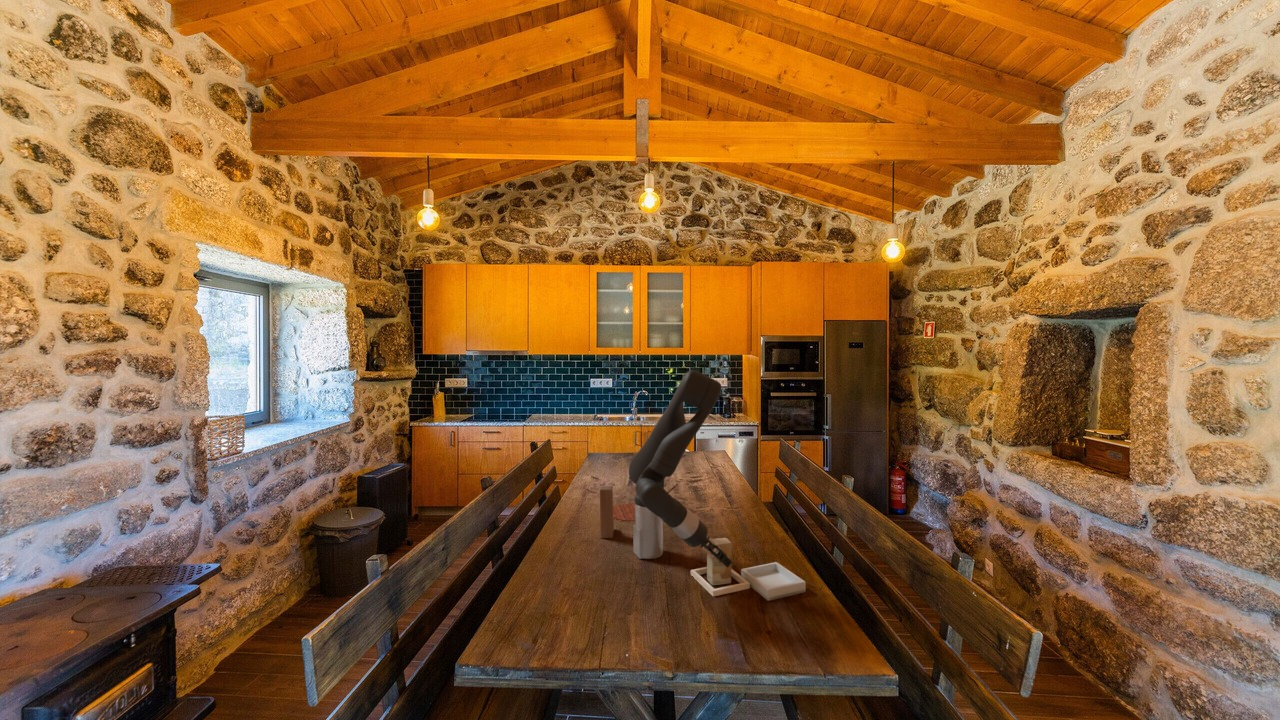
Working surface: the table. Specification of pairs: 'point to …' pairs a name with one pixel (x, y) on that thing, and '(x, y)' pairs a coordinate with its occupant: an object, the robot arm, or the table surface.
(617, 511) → the incense holder
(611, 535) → the wooden block
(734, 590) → the holder
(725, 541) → the skincare box
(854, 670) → the table surface
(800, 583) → the tray
